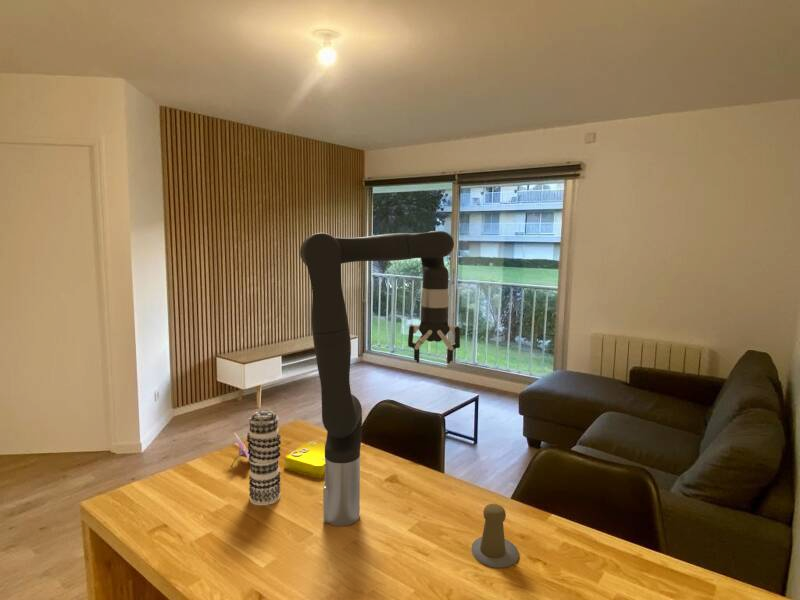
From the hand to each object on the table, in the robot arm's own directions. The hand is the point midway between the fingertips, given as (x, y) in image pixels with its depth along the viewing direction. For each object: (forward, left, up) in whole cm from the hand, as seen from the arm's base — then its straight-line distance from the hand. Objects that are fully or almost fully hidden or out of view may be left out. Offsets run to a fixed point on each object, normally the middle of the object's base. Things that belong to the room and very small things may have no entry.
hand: (433, 362), depth 132 cm
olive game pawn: (+14, -24, -40) cm, 48 cm away
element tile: (-36, +20, -41) cm, 58 cm away
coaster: (+14, -24, -40) cm, 49 cm away
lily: (-59, +19, -40) cm, 74 cm away
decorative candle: (-47, -1, -40) cm, 62 cm away
